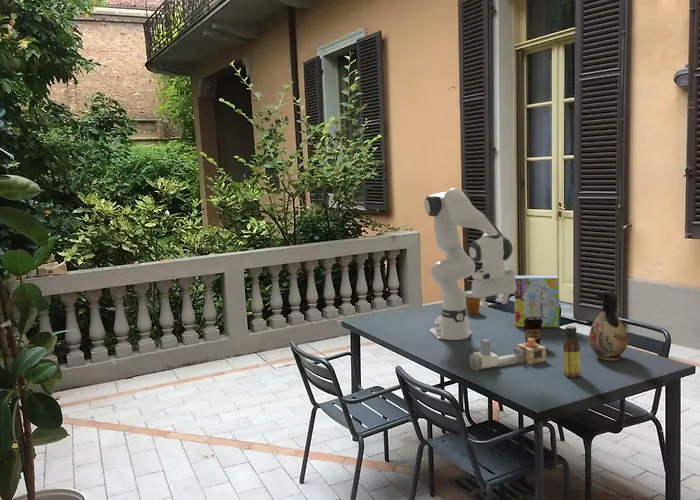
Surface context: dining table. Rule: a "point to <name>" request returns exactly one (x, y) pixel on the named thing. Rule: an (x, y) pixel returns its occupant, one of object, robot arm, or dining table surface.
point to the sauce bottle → (571, 353)
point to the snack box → (537, 299)
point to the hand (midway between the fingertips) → (495, 305)
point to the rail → (499, 359)
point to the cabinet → (533, 353)
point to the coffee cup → (533, 328)
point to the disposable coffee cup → (472, 303)
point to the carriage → (486, 354)
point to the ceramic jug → (608, 330)
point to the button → (530, 342)
